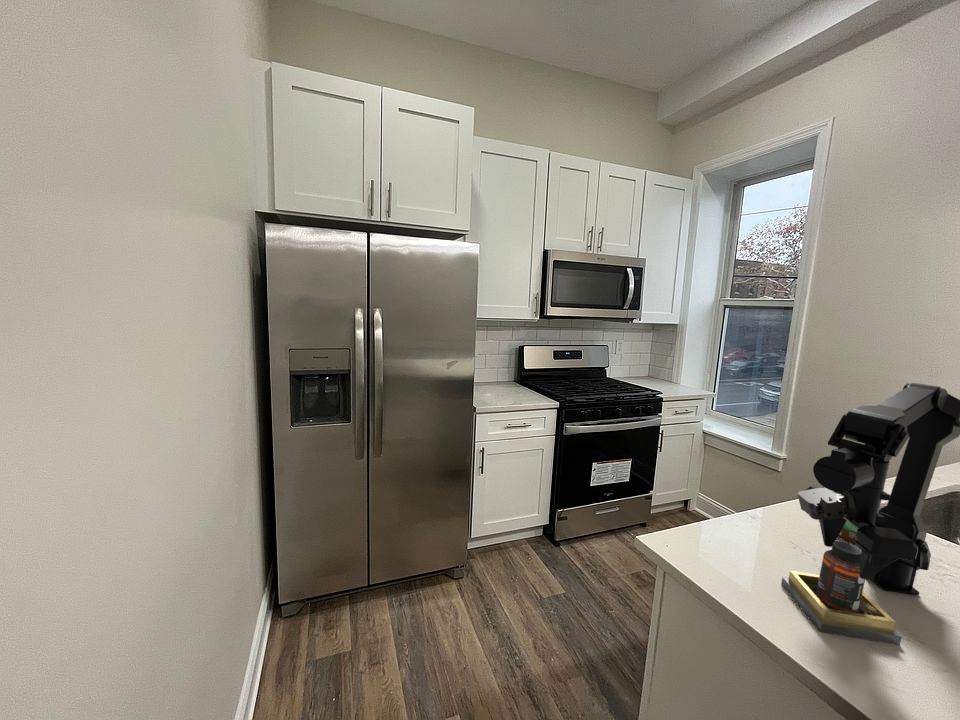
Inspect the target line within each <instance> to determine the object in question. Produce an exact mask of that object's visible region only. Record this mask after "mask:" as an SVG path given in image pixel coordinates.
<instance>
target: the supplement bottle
mask: <svg viewBox="0 0 960 720" xmlns="http://www.w3.org/2000/svg"><path fill="white" fill-rule="evenodd" d="M860 561H861V549H860V548H859V547H858V546H857V545H854V544H852V543H849V542H847V541H841V540H836V541H835V542H833V546H832V547H831V549H828V550H826V551H825V552H824V553H823V556H822V561H821V567H820V570H819V571H820V572H819V575H820V576H819V582H818V587H817V595H818V597H819V598H820V599H821V601H823V602H824V603H825V604H827V605H828V606H830V607H831V608H833V609H836V610H840V611H847V612H853V613H856V612H858V610H859V607H860V602H861V597H862V592H864V586H865V581H866V579H862V578H861V577H860Z"/></svg>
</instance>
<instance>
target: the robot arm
mask: <svg viewBox="0 0 960 720" xmlns="http://www.w3.org/2000/svg"><path fill="white" fill-rule="evenodd" d="M837 423H838V424H837V425H836V427H835V429H834V431H833V432H832V434H831V436H830V438H829V439H828V441H827V445H828V446H832V447H834V448H833V449H831V452H830V455H827V456H823V457H821V458H819V459H818V460H817V461H816V462H815V463H814V464H813V469H812V471H813V475H814V477H815V479H816V481H817V482H818V483H819V485H821V486H822V487H819V486H811V485H810V486H808V487H807V488H806V489H804V490H800V491H797V497H798V501H799V505H800V509H801V510H802V512H805V513H806V514H807V515H808V516H809V517H810V518H811V519H812V520H816V521H818V522H819V526H820V530H821V535H822V541H823V545H824V547H828V548H832V546H833V542H835V541H838V540H837V539H838V538H839V537H838V536H839V534H840V532H841V530H842V528H843V526H844V525H845V523H846V521H847V520H849V521H850V522H851V523H853V524H854V525H855V526H857V527H858V528H859V529H857V534H856V536H857V539H858V541H854V542H855V543H856V544H857V545H856V547H857V548H859V549H860V550H861V561H860V577H861V578H862V579H865V580H871V581H872V582H873V583H874V584H875V585H876V586H877V587H878V588H881V590H883V591H889V592H895V593H902V594H909V595H915V596H916V595H917V596H919V595H920V591H918V589H916V588H914V582H915V579H916V574H917V571H919V570H922V571H928V570H929V568H930V565H931V564H930V563H931V557H932V554H931V551H930V548H929V545H928V541H926V537H927V534H928V532H927V529H926V527H925V525H924V522H923V520H922V518H921V516H920V515H921V512H922V509H923V506H924V503H925V500H926V498H927V494H928V491H929V487H930V486H931V485H930V484H931V482H932V479H933V476H934V473H935V469H936V467H937V464H938V461H939V457H940V454H941V452H942V449H943V447H944V446H945V445H947V444H949V443H951V442H952V441H954V440H955V439H958V437H960V399H959V398H957V397H955V396H953V395H951V394H950V393H948V391H947V389H946V388H943V387H941V386H937V385H930V384H924V383H917V382H916V383H915V382H911V383H905V385H904V386H903V387H902V389H901V390H899V391H898V392H897V393H896V394H894V395H892V396H890V397H889V398H887V399H885V400H883V401H882V402H881V403H879V404H876V405H861V406H857V407H853V408H851V409H850V410H849V411H847V412H845V413H844V414H843V415H842V416H841V418H840V420H839V422H837ZM906 443H907V444H906ZM905 444H906V446H905ZM904 446H905V450H904V453H903V454H902V459H901V461H900V464H899V468H898V471H897V474H896V477H895V480H894V483H893V486H892V489H891V491H890V494H889V493H887V492H886V491H885V490H884V489H885V485H886V480H887V476H888V470H889V466H890V462H891V461H890V460H892V458H893V457H894V458H897V457H898V454H899V453H900V452H901V450H902V449H903V448H904ZM882 501H887V504H886V505H885V506H883V508H881V509H880V506H881V505H882ZM879 509H880V510H879Z"/></svg>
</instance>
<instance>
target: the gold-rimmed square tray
mask: <svg viewBox="0 0 960 720" xmlns="http://www.w3.org/2000/svg"><path fill="white" fill-rule="evenodd" d="M819 576H820V574H815V573H807V572H801V571H795V570H794V571H793V570H789V574H788V577H787V576H785V577H784V576H782V578H781V583H780V584H781V586H784V587H783V588H784V590H785V591H786V592H787V593H788V594H789V596H790V597H791V598H792V599H793V601H795V603H796V604H797V606H799V608H800V610H801V611H802V612H803V613H804V614H805V615H806V617H807V618H808V619H809V620H810V622H811V623H812V624H813V625H814V626H815V628H816V629H817V630H818V631H819V632H820V633H826V634H832V635H837V636H844V637H848V638H856V639H863V640H868V641H874V642H879V643H885V644H893V645H896V646H901V641H902V638H903V637H902V636H901V635H900V633H899V632H898V631H896V630H895V628H896V624H897V622H896V621H895V620H894V619H893V618H892V617H891V616H890V615H889V614H887V612H886V611H884V610H883V609H882V608H881V607H880V606H879V605H878V604H877V603H876V602H875V600H873V599H872V598H871V597H869V595H868V594H866V593H865V592H864V591H863V592H862V597H861V602H860V607H859V610H858V612H856V613H853V612H847V611H840V610H836V609H833V608H831V607H830V606H828V605H827V604H825V603H824V602H823V601H821V599H820V598H819V597H818V595H817V587H818V582H819Z"/></svg>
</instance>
